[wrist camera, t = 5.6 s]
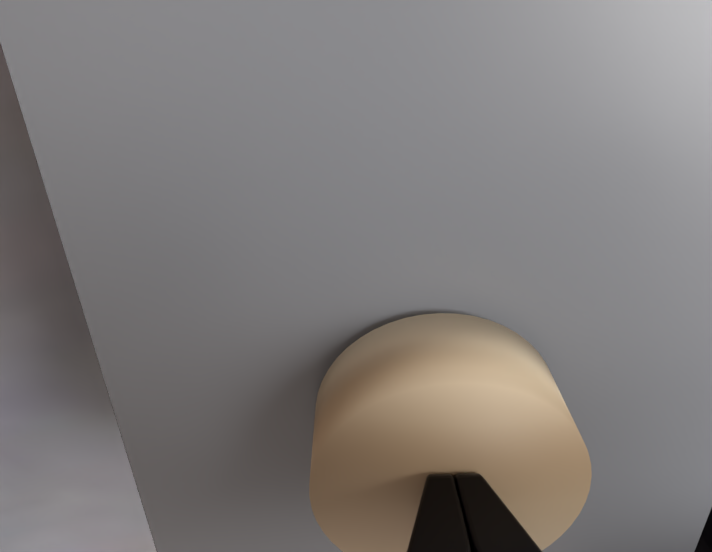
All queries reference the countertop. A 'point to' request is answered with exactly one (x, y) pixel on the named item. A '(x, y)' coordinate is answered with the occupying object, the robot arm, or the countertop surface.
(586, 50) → the housing
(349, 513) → the cap
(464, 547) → the robot arm
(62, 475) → the countertop surface
